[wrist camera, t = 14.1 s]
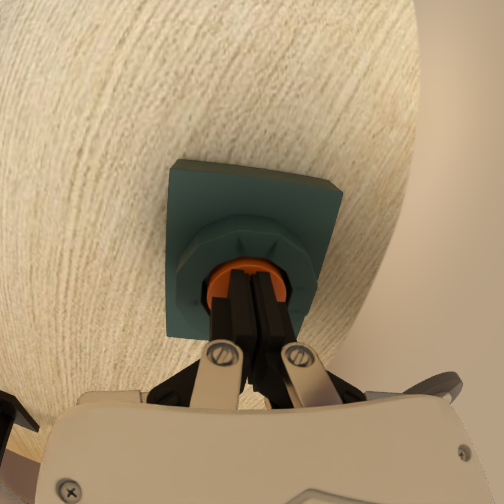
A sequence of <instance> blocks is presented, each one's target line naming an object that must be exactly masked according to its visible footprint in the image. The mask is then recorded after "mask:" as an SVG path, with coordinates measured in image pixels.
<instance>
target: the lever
mask: <svg viewBox="0 0 504 504" xmlns="http://www.w3.org/2000/svg"><path fill="white" fill-rule="evenodd" d="M0 487H1V488H2V489H3V490H4V491H5V492H6V493H7V494H8V495H10V496H11V497H12V498H13V499H14V500H15V501H16V502H17V503H19V504H28V503H27V502H26V501H25V500H23V499H22V498H21V497H20V496H19V495H18V494H16V493H15V492H14V491H13V490H12V489H11V488H9V486H7V485H6V484H5V483H4V482H3V481H2V480H1V479H0Z"/></svg>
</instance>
